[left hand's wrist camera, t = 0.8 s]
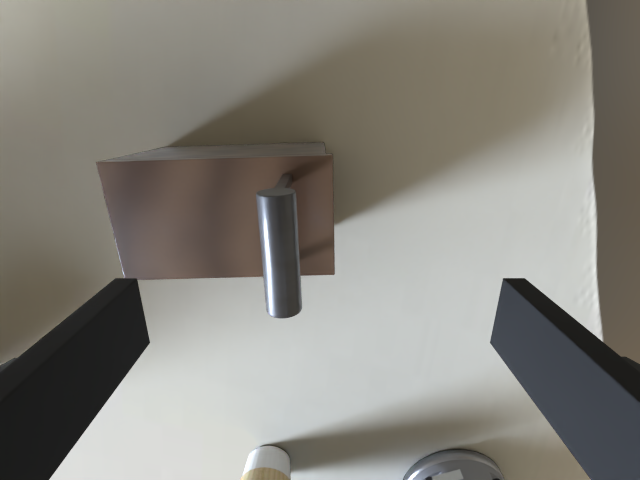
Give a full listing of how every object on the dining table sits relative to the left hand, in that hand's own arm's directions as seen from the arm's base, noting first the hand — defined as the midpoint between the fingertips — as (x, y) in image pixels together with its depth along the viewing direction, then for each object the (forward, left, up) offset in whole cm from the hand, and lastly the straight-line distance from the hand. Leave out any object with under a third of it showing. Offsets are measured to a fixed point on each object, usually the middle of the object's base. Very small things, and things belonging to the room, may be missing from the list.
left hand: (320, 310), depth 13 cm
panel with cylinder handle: (-1, +7, -15) cm, 17 cm away
